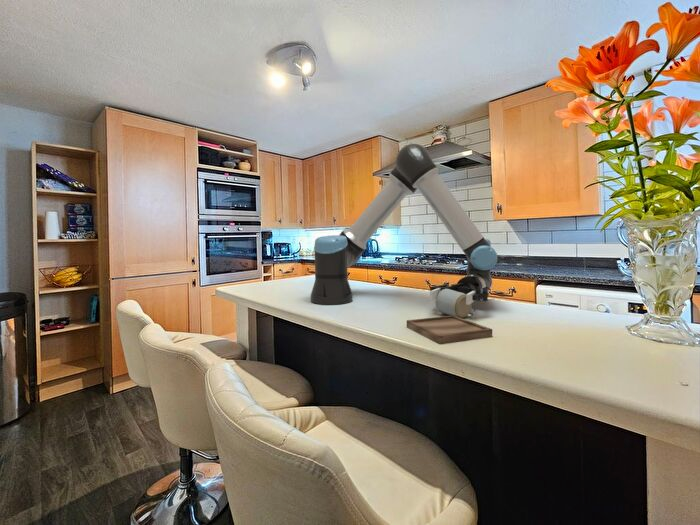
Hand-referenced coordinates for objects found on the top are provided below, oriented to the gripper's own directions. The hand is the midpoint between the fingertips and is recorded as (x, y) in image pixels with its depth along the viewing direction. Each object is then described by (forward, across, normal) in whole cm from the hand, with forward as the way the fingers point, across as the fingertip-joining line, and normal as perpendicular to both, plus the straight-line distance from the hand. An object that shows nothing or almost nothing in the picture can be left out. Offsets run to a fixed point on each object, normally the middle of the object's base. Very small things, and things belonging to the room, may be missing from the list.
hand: (448, 297), depth 87 cm
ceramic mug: (-6, 0, -6) cm, 9 cm away
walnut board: (+11, -3, -6) cm, 13 cm away
